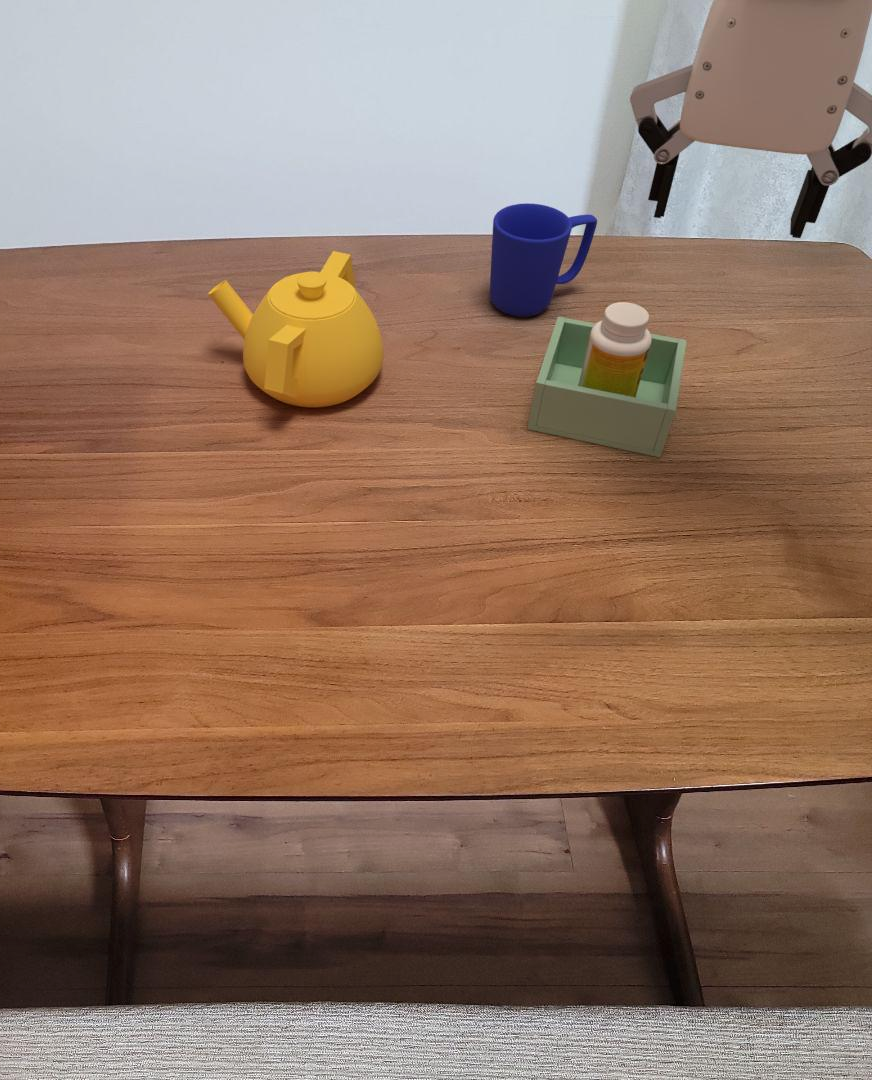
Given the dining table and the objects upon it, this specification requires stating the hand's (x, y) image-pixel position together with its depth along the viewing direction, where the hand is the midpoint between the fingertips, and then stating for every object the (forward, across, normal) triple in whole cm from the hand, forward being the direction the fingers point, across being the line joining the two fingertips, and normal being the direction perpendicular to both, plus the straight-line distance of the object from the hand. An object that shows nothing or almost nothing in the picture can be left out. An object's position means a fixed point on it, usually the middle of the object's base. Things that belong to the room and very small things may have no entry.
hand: (726, 219), depth 69 cm
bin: (+24, +6, -7) cm, 25 cm away
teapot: (+24, +37, -2) cm, 44 cm away
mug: (+24, +16, -24) cm, 37 cm away
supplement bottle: (+24, +6, -7) cm, 25 cm away
